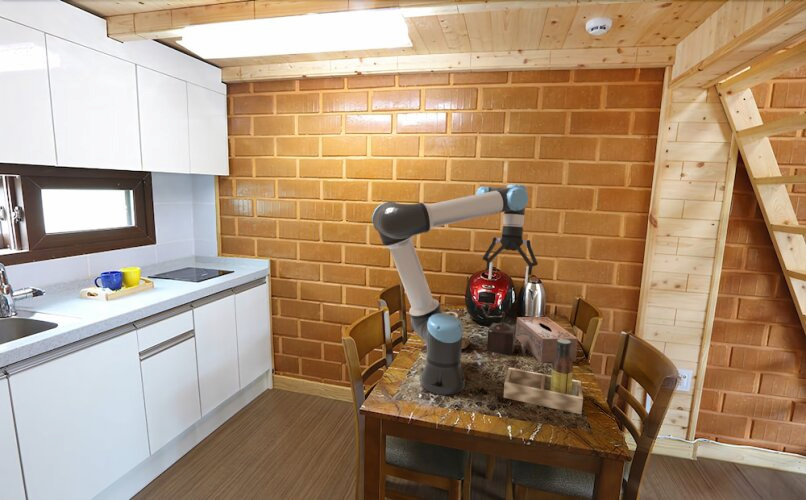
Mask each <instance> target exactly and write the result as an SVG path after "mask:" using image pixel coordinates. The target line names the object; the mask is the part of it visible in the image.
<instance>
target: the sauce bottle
mask: <svg viewBox="0 0 806 500" xmlns="http://www.w3.org/2000/svg"><path fill="white" fill-rule="evenodd" d="M570 346H571V342H570V341H569V340H567V339H558V340H557V353H556V356H555V358H554V360H553V362H551V376H552V377H551V391H553V392H558V393H563V394H568V395H572V379H574V378H573V377H574V376H573V374H574V367H573V366H574V362H572V359H571V357H570Z"/></svg>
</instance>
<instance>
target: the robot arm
mask: <svg viewBox="0 0 806 500" xmlns="http://www.w3.org/2000/svg"><path fill="white" fill-rule="evenodd" d="M528 203H529V195H528V189H527V186H526V185H524V184H516V183H515V184H514V183H513V184H508V185H506V187H492V186H480V187H479V188H478V189H477V191H476V192H475V194H473V195H467V196H463V197H458V198H453V199H449V200H444V201H439V202H435V203H429V204H426V203H425V202H418V203H398V202H394V201H388V202H387V201H386V202H383V203H381V204H379V205H378V206H377V207H376V208H375V209H374V210H373V211H374V212H373V213H372V218H371V220H372V221H371V223H372V225H373V228H374V229H375V231H377V233H378V236H379V238H380V240H381V242H382V245H383V246H384V247H386V248H388V249H389V252H390V255H391V257H392V259H393V261H394V265H395V267H396V270H397V273H398V275H399V277H400V280H401V283H402V286H403V288H404V291H405V294H406V297H407V299H408V302H409V304H410V306H411V307H410V308H409V311H408V313H409V316H410V323H411V326H412V329H413V331H414V332H415V333H416V334H417V335H418V336H419V337H420V338H421V339H422V341H423V342H424V343H425V344H426V361H425V364H424V367H423V369H422V373H421V374H420V385H421V387H422V388H423V389H425V391H428V392H429V393H432V394H436V395H444V396H449V395H450V396H451V395H454V394H455V395H456V394H458V393H460V392H462V391H463V390H464V389H465V385H466V379H465V375H464V371H463V367H462V364H461V361H462V360H461V359H462V358H461V357H462V349H461V345H462V338H463V324H462V321H461V319H460V320H459V319H458V318H457V317H455V316H453V315H450V314H446V313H442V312H443V310H442V307H441V305H440V302H439V300H437V299H435V298H433V294H432V292H431V289H430V287H429V286H430V285H429V283H428V281H427V278H426V276H425V273H424V270H423V267H422V264H421V262H420V259H419V257H418V253H417V250H416V248H415V245H414V241H413V239H414V236H417V235H421V234H424V233H425V234H426V233H428V232H430V231H431V229H432V228H438V227H442V226H447V225H451V224H454V223H460V222H464V221H467V220H472V219H477V218H481V217H486V216H489V215H493V214H494V215H495V214H498V213H503V218H502V219H503V220H502V224H503V226H502V232H501V237H499V238H498V237H496V236H495V237H493V238H492V241H491V244H490V245H489V247H488V248H487V250H486V252H485V253H484V255H483V256H482V260H483V261H485V262H486V268H485V269H486V271H488V276H487V277H488V278H487V280H492V276H493V267H494V265H493V264H494V262H493V260H494V259H495V258H496V257H497V256H498V255H499V254H500V253H501V252H502V251H503V250H506V251H514V252H515V251H517V252H518V253H519V254H520V256H521V257H522V258H523V260H524V261H525V263H526V264H527V265H526V267H525V268H526V270H525V278H524V285H527V284H528V281H529V276H531V275H532V273H533V272H532V270H533V267H536V266H537V265H538V261H537V258H536V255H535V253H534V251H533V248H532V246H531V243H532V242H531V239H527V240H523V235H524V234H523V233H524V228H523V226H524V222H525V213H526V206H527V204H528ZM499 242H500V244H501V246H500V247H499V248H498V249H497V250H496V251H495V252H493V253H492V254H491V252H492V251H493V249H494V247H495V246H496V245H497V244H498V243H499ZM523 244H524V246H526V248H527V251H528V253H529V255H530V258H531V260H530V259H529V257H528V256H527V254H526V253H525V252H524V250H523V249H522V245H523ZM490 254H491V256H490ZM489 256H490V257H489Z"/></svg>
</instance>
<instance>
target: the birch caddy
mask: <svg viewBox="0 0 806 500" xmlns="http://www.w3.org/2000/svg"><path fill="white" fill-rule="evenodd" d="M551 377H552V374H545V373H539V372H536V371H534V372H533V371H530V370H523V369H518V368H514V367H508V369H507V373H506V376H505V381H504V385H503V386H504V387H503V399H509V400H514V401H517V402H524V403H527V404H533V405H536V406H541V407H545V408H550V409H554V410H559V411H563V412H569V413H573V414H579V415H582V412H583V411H582V410H583V402H584V398H583V390H582V382H581V380H576V379H574V378H572V395H568V394H563V393H558V392H553V391H551Z"/></svg>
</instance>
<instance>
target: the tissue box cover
mask: <svg viewBox="0 0 806 500" xmlns="http://www.w3.org/2000/svg"><path fill="white" fill-rule="evenodd" d="M515 327H516V335H515V339H517V340H518V341H519V342H520V343H521V344H522V346H523V347H524V348H525V349H526V350H527V351H529V353H530V354H532V355H533V356H534V358H535V359H537V360H538V362H540V363H553V360H554V358H555V356H556V353H557V340H558V339H567V340H569V341H570V342H571V346H570V357H571V359H572V363H576V361H577V350H578V342H579V338H578V337H577V336H575V335H574V334H572V333H571V332H570V331H568V330H567V329H565V328H564V327H562V326H561V325H559V324H558V323H557V322H555V321H554V320H552V319H551V318H549V317H548V316H522V317H521V316H520V317H518V316H517V318H516V326H515Z"/></svg>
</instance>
